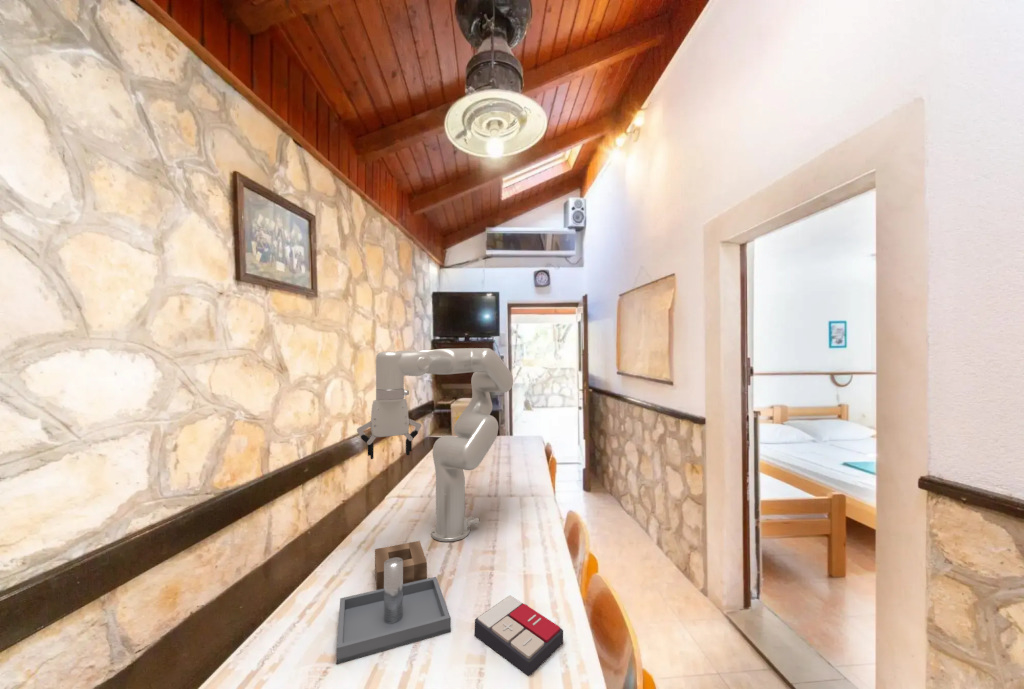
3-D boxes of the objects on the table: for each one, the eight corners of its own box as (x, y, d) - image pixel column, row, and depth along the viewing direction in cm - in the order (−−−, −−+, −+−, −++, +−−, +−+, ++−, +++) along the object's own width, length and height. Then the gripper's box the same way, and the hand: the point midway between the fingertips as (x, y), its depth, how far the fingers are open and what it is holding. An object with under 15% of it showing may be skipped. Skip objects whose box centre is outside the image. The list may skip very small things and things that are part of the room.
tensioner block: (419, 562, 107) (419, 540, 108) (426, 586, 96) (426, 562, 96) (374, 571, 103) (374, 549, 103) (376, 597, 92) (376, 572, 92)
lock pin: (401, 609, 86) (402, 555, 87) (403, 620, 83) (403, 564, 83) (383, 613, 85) (383, 559, 85) (384, 625, 81) (384, 568, 82)
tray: (436, 588, 95) (436, 576, 95) (450, 631, 80) (450, 617, 80) (340, 611, 87) (340, 598, 87) (336, 664, 72) (336, 648, 72)
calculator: (529, 658, 69) (473, 615, 79) (528, 682, 69) (473, 636, 79) (564, 626, 77) (510, 591, 88) (563, 647, 77) (509, 609, 88)
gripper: (419, 392, 114) (419, 449, 114) (357, 395, 108) (356, 456, 107) (423, 395, 107) (423, 456, 107) (357, 398, 101) (356, 463, 100)
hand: (390, 456), depth 107 cm, fingers open, 9 cm apart
